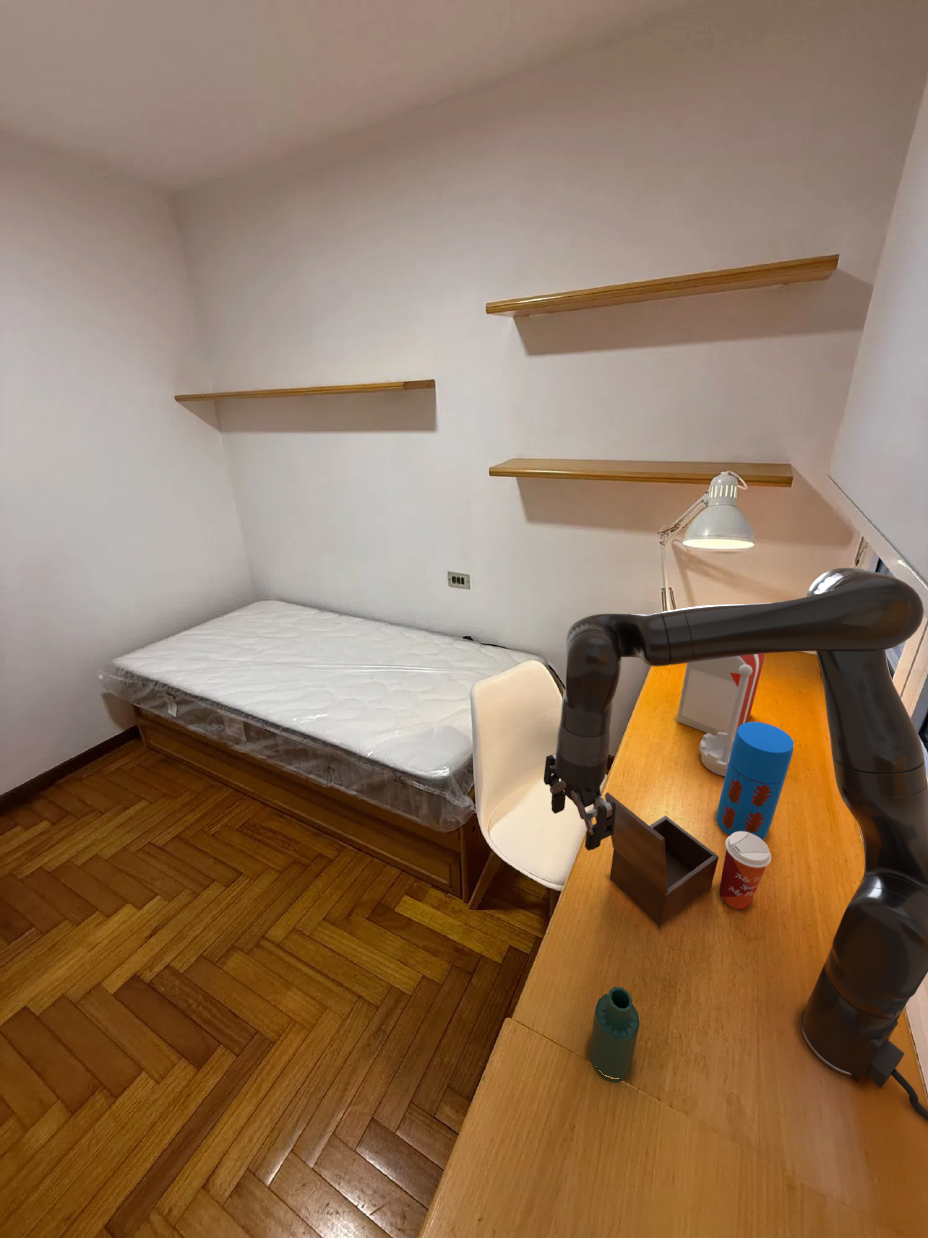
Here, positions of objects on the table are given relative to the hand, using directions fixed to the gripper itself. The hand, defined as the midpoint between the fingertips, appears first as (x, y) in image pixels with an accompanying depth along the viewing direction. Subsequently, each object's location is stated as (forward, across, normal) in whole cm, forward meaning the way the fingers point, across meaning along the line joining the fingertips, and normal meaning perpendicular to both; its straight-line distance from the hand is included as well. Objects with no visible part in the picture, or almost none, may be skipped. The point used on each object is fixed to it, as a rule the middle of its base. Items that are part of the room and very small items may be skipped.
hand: (573, 828), depth 83 cm
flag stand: (+28, +18, -68) cm, 75 cm away
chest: (+28, 0, -25) cm, 37 cm away
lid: (+11, 0, -15) cm, 19 cm away
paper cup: (+28, -9, -36) cm, 46 cm away
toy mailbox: (+28, +34, -83) cm, 93 cm away
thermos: (+28, +2, -53) cm, 60 cm away
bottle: (+28, -18, +5) cm, 34 cm away
